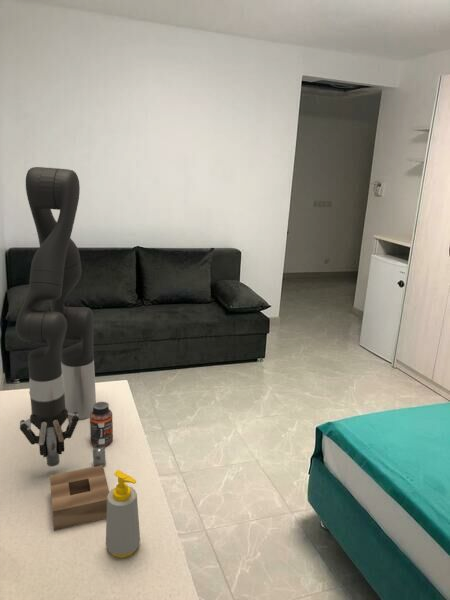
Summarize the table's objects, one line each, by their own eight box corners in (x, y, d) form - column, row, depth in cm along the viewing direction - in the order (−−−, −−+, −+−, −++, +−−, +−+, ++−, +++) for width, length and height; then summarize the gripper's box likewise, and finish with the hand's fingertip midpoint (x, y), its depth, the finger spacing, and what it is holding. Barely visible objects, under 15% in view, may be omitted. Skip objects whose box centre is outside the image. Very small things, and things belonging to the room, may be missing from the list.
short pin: (92, 462, 125) (92, 446, 123) (104, 460, 126) (104, 443, 124) (94, 469, 122) (93, 452, 121) (106, 467, 123) (105, 450, 122)
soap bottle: (124, 566, 95) (122, 491, 90) (98, 550, 99) (95, 476, 93) (147, 543, 101) (147, 471, 95) (122, 529, 104) (120, 458, 99)
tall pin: (46, 459, 120) (43, 421, 117) (59, 457, 122) (56, 419, 118) (47, 467, 118) (43, 428, 114) (60, 465, 119) (57, 426, 115)
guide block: (51, 493, 114) (49, 475, 112) (103, 482, 118) (102, 465, 116) (54, 530, 103) (52, 511, 102) (111, 517, 108) (110, 498, 106)
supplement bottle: (107, 449, 130) (106, 412, 127) (86, 445, 131) (85, 409, 128) (116, 436, 136) (115, 401, 132) (96, 433, 137) (95, 398, 133)
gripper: (77, 380, 119) (80, 439, 125) (14, 388, 114) (21, 450, 120) (80, 395, 112) (83, 457, 118) (14, 404, 107) (21, 469, 113)
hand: (52, 453), depth 119 cm, fingers closed on tall pin, 3 cm apart
